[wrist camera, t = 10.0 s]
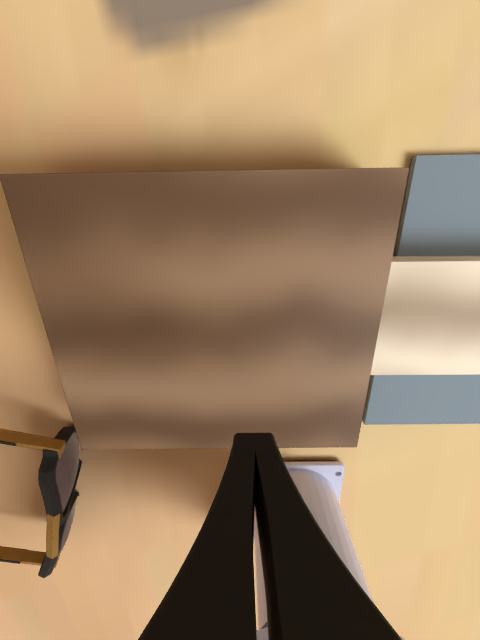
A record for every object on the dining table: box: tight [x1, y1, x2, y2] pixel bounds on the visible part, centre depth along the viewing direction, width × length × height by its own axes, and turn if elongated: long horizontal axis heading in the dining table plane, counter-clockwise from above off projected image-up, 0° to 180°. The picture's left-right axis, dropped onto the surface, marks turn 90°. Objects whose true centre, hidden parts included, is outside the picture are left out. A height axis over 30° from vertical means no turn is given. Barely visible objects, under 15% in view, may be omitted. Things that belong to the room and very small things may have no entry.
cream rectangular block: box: [370, 256, 480, 375], centre depth 16 cm, size 7×10×2 cm
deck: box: [0, 167, 409, 449], centre depth 16 cm, size 16×18×4 cm
